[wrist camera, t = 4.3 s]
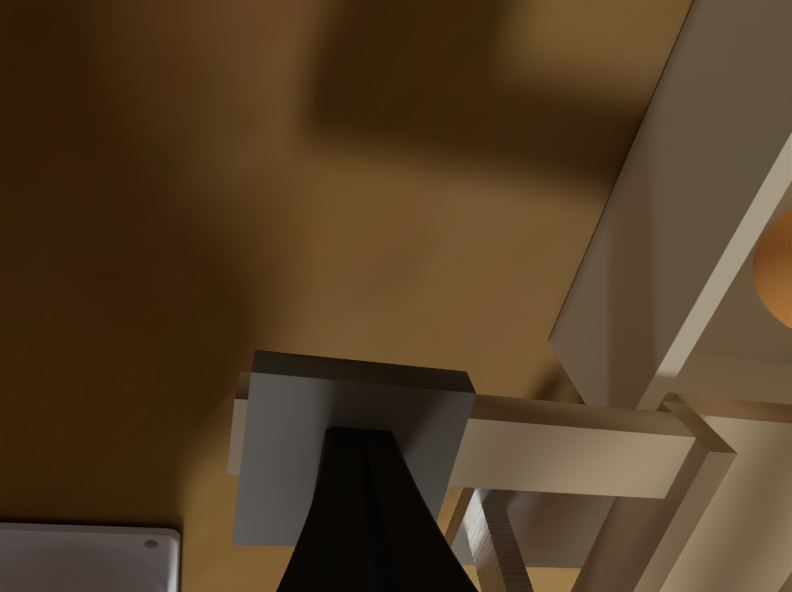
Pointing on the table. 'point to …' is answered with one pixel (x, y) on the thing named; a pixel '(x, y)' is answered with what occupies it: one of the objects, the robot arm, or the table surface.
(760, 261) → the ball
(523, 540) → the lever stand
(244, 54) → the table surface
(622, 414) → the lever
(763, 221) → the cream open box
